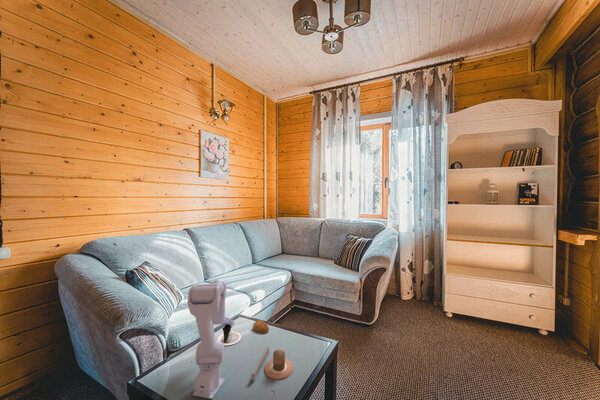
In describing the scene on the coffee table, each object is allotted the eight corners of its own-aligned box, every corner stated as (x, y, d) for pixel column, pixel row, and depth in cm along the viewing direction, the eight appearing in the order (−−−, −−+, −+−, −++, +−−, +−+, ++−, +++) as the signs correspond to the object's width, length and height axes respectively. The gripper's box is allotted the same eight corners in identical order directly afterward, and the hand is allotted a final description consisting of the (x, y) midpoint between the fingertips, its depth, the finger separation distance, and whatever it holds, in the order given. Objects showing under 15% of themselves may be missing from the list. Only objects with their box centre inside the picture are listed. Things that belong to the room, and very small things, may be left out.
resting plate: (288, 381, 98) (288, 379, 98) (260, 376, 100) (260, 374, 100) (295, 361, 109) (295, 360, 109) (270, 357, 112) (270, 356, 112)
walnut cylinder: (282, 372, 102) (283, 357, 102) (271, 370, 103) (271, 356, 103) (286, 363, 107) (286, 350, 107) (275, 362, 108) (275, 348, 108)
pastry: (272, 330, 135) (272, 323, 134) (263, 335, 129) (263, 328, 129) (260, 324, 140) (260, 317, 140) (251, 329, 135) (251, 322, 135)
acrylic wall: (254, 381, 98) (254, 374, 97) (251, 380, 98) (251, 373, 98) (269, 352, 115) (269, 346, 115) (266, 352, 115) (266, 346, 115)
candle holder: (230, 330, 134) (230, 322, 134) (246, 337, 127) (246, 329, 127) (212, 341, 124) (212, 332, 124) (227, 349, 118) (227, 340, 117)
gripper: (237, 307, 111) (237, 336, 112) (208, 303, 114) (208, 332, 115) (229, 314, 105) (229, 345, 105) (199, 310, 108) (199, 341, 108)
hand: (218, 339), depth 109 cm, fingers open, 7 cm apart
